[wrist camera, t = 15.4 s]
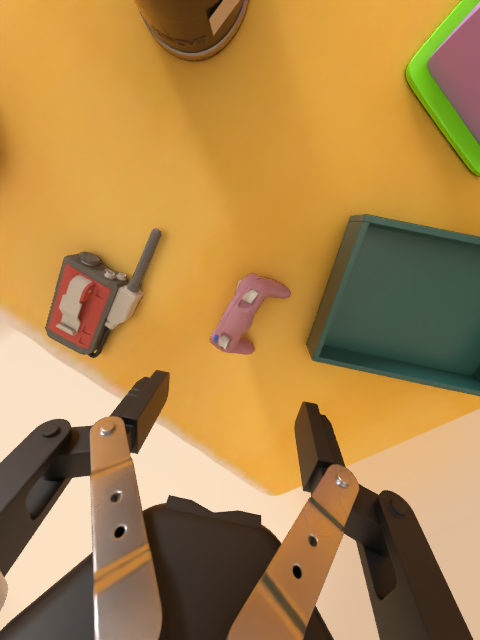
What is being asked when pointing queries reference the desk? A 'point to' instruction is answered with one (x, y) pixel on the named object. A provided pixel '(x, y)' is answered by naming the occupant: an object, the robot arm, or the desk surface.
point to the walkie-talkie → (94, 299)
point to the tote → (403, 304)
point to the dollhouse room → (453, 80)
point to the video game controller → (244, 313)
